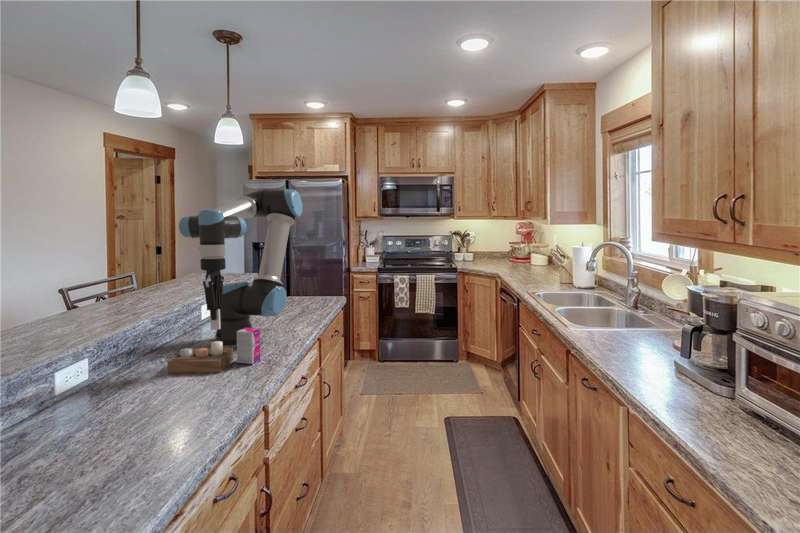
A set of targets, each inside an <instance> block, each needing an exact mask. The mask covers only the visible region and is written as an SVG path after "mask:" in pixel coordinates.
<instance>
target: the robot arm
mask: <svg viewBox="0 0 800 533" xmlns="http://www.w3.org/2000/svg"><path fill="white" fill-rule="evenodd" d="M303 209H304V208H303V201H302V198H301V195H300V193H299V192H298V191H297V190H295V189H288V188H284V189H259V190H256V191H253V192H250V193H246V194H244V195H241V196H240V197H237V199H236V200H235V201H233V202H230V203H227V204H224V205H223V206H220V207H216V208H214V209H201V210H200V211H199V212H198V215H187V216H182V217H181V218H180V220H179V223H178V228H179V229H178V230H179V232H180V235H181V236H183V237H185V238H191V239H199V247H198V250H199V255H200V257H201V258H200V261H199V262H200V269H201V271H206V274H205V276H204V277H205V280H203V281H202V284H203V289H204V296H205V303H206V311H209V319H210V321H209V323H210V330H216V332H215V335H214V339H215V340H214V342H215V341H222V342H223V345H237V331H239V330H241V329H243V328H254V326H253V325H252V322H251V316H259V317H266V318H268V317H276V316H279V315H280V314H281V313H282V312H283V310H284V309H285V308H286V304H287V302H288V301H287V299H288V297H287V290H286V289H285V287H284V283H283V282H282V281H281V277H282V272H283V266H284V261H285V256H286V250H287V244H288V239H289V235H290V230H291V229H290V228H291V226H293V225H294V224H295V222H296V219H297V218H300V217H301V216H302V213H303ZM253 218H266V220H267V221H268V226H267V231H266V234H265V235H266V236H265V241H264V245H263V251H262V255H261V256H262V257H261V261H260V265H259V272H258V274H257V277H255V278H254V279H253V280H252V285H250V283H249V282H248V281H237V282H230V283H226V284H224V281H225V278H224V276H223V275H222V273H221V271H223V270H225V269H226V259H225V257H226V247H225V246H226V244H225V242H226V241H225V239H237V238H241V237H243V236H245V234H246V233H247V230H248V228H247V227H248V226H247V223H246V221H245V220H244V219H247V220H248V219H253Z"/></svg>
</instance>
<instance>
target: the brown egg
mask: <svg viewBox="0 0 800 533" xmlns="http://www.w3.org/2000/svg"><path fill="white" fill-rule="evenodd" d="M195 349H196V357H205V356H207V355H208V349H209V348H208V347H207V348H206V347H201V348H195Z"/></svg>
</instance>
